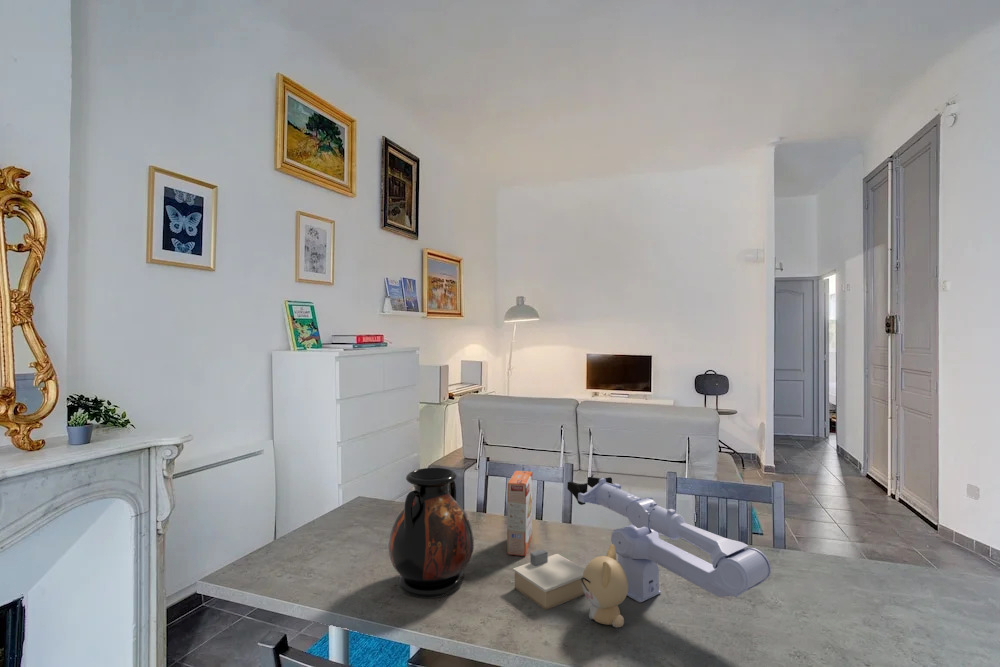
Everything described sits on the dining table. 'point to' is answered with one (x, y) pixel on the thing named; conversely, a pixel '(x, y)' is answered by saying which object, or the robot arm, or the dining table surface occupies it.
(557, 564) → the carton lid
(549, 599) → the carton
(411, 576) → the amphora vase
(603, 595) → the kitten
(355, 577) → the dining table surface
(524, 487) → the cracker box
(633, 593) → the robot arm
